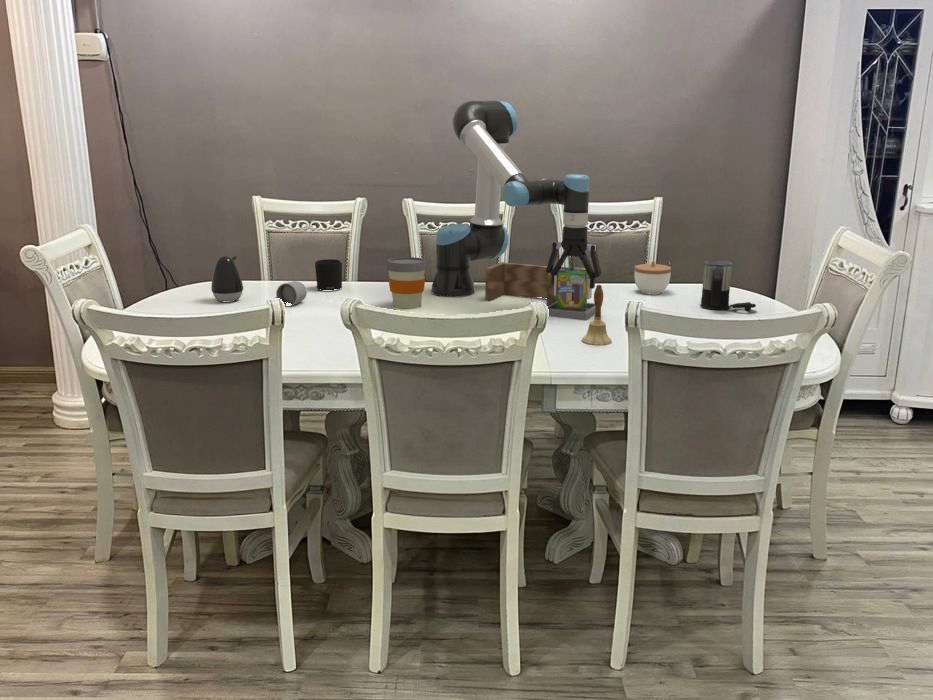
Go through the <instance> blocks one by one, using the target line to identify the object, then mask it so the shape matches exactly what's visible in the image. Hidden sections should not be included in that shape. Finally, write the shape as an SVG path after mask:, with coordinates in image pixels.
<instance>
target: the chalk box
mask: <svg viewBox="0 0 933 700" xmlns="http://www.w3.org/2000/svg"><path fill="white" fill-rule="evenodd" d="M569 264H570V267H569V266H565V267H564V266H563V267H562V266H561V268H560V269H559V271H558V284H557V308H584V309H585V308H586V306H587V303H588V299H586V295H587V278H589V275H588V273H587V271H586V269H585V267H574V263H573V258H572V257H570V259H569Z"/></svg>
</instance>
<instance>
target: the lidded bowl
mask: <svg viewBox="0 0 933 700" xmlns="http://www.w3.org/2000/svg"><path fill="white" fill-rule="evenodd" d="M633 268H634V269H633V270H634V283H635V285H636V288H637V289H638V290H639V291H640V293H641V292H643V293H642V294H644V293H650V294H649V295H651V294H656V295H661V294H662V292H663V291H665V290H666V289H667V287H668V286H669V283H670V280H671V274H672V273H671V272H672V267H671V266H669V265H665V264H657V263H656V262H655V261H651V263H640V264H636V265H634V267H633ZM660 293H661V294H660Z"/></svg>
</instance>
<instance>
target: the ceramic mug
mask: <svg viewBox="0 0 933 700" xmlns="http://www.w3.org/2000/svg"><path fill="white" fill-rule="evenodd" d="M307 292H308V290H307V287H306V286H305V284H304V283H302V282H301V281H288V282H284V283H281V284H280V285H278V287H277V289H276V291H275V295H276V297H274V298H280V299H282V301H283V302H284V304H285V306H284V307H287V306H286V303H287V302H288V303H291V304H292V306H294V304H295V305H297V304H300V303H302V302H303V301H304V300H305V299H306V297H307ZM285 302H286V303H285Z"/></svg>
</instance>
